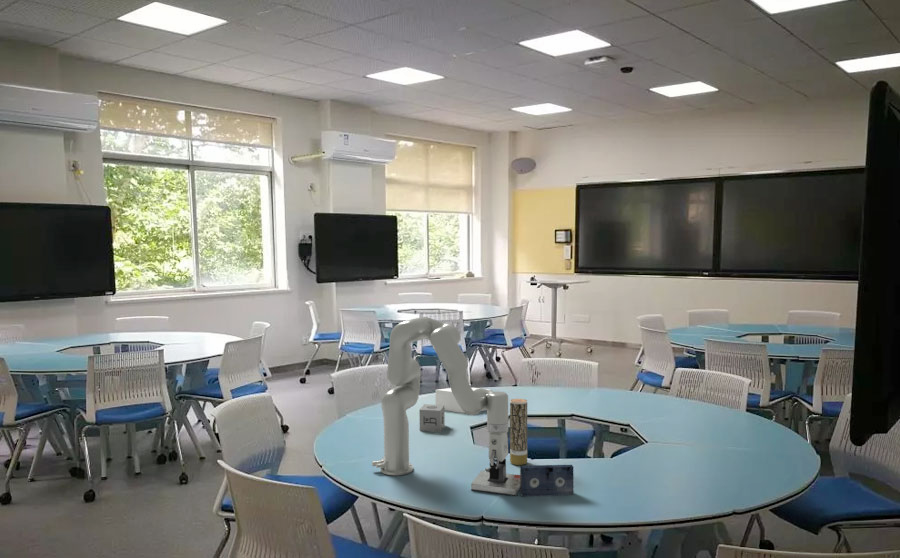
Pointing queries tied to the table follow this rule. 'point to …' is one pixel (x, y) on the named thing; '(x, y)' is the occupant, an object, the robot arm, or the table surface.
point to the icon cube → (432, 418)
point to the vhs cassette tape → (546, 480)
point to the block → (449, 400)
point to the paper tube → (518, 431)
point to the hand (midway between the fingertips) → (497, 474)
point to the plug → (501, 474)
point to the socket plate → (496, 484)
